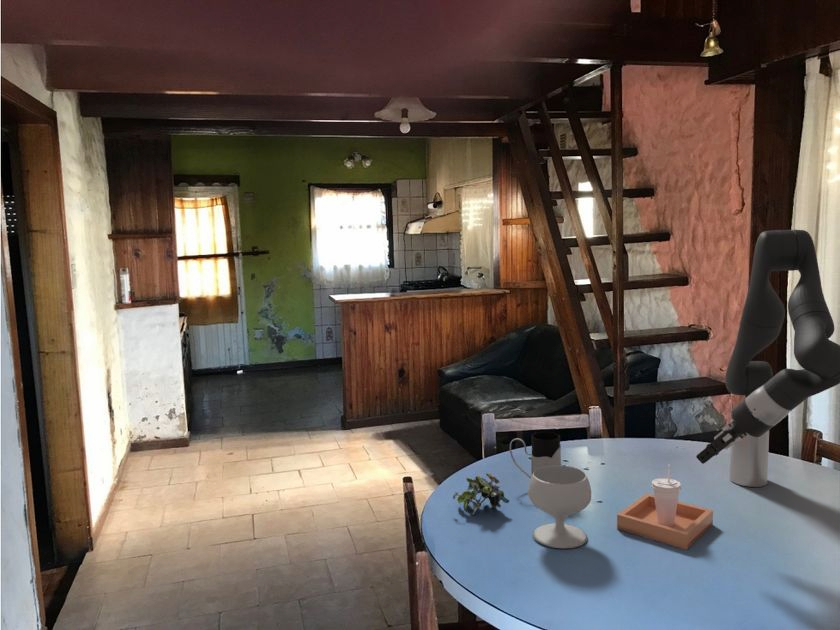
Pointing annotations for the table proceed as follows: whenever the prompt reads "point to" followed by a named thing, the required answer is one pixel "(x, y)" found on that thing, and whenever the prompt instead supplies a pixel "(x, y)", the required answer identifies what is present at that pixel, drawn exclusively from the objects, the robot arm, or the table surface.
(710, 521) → the dish
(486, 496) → the leafy green plant
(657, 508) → the smoothie
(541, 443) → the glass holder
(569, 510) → the chalice
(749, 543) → the table surface
